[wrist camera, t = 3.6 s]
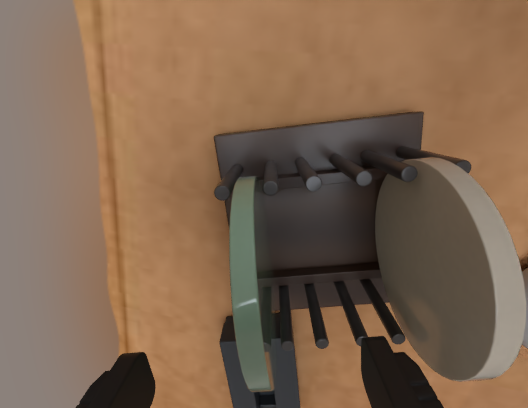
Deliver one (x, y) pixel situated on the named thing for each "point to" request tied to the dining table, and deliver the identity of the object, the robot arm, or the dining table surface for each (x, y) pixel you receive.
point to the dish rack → (325, 209)
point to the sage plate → (252, 286)
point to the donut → (527, 283)
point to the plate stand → (286, 388)
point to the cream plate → (450, 271)
